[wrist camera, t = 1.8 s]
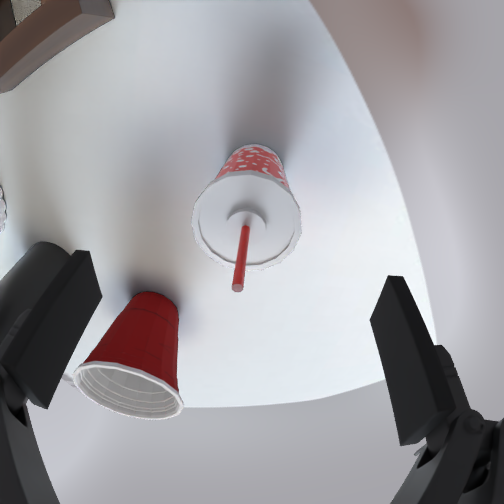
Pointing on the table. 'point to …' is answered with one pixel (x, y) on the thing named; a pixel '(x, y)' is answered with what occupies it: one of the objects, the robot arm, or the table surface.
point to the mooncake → (2, 211)
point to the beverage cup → (247, 214)
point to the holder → (44, 34)
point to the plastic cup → (136, 361)
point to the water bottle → (28, 282)
